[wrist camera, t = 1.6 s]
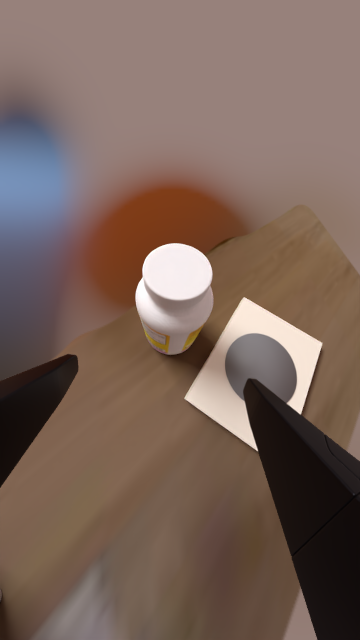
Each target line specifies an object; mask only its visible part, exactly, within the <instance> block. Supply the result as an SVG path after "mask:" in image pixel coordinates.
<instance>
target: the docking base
mask: <svg viewBox="0 0 360 640" xmlns="http://www.w3.org/2000/svg"><path fill="white" fill-rule="evenodd" d="M321 346H322V343H321V342H319V341H318V340H316V339H314V338H313V337H311V336H309V335H307V334H306V333H304V332H302V331H301V330H299V329H297V328H296V327H294V326H292V325H290V324H289V323H287V322H285V321H284V320H282V319H280V318H279V317H277V316H275V315H273V314H272V313H270V312H268V311H267V310H265V309H263V308H262V307H260V306H258V305H257V304H255V303H253V302H251V301H250V300H248V299H246V298H245V297H244V298H243V299H242V301H241V302H240V304H239V305H238V307H237V309H236V310H235V312H234V314H233V316H232V317H231V319H230V321H229V322H228V324H227V326H226V328H225V329H224V331H223V333H222V334H221V336H220V338H219V340H218V341H217V343H216V345H215V346H214V348H213V350H212V352H211V353H210V355H209V357H208V358H207V360H206V362H205V364H204V365H203V367H202V369H201V370H200V372H199V374H198V376H197V377H196V379H195V381H194V382H193V384H192V386H191V388H190V389H189V391H188V393H187V394H186V396H185V398H184V399H185V400H187V401H188V402H189V403H191V404H192V405H194V406H195V407H196V408H198V409H199V410H201V411H202V412H203V413H205V414H206V415H208V416H209V417H210V418H212V419H213V420H215V421H216V422H217V423H219V424H220V425H222V426H223V427H224V428H226V429H227V430H229V431H230V432H231V433H233V434H234V435H235V436H237V437H238V438H240V439H241V440H242V441H244V442H245V443H247V444H248V445H249V446H251V447H252V448H254V449H255V450H256V451H258V449H257V446H256V443H255V440H254V437H253V433H252V430H251V427H250V424H249V420H248V415H247V410H246V405H245V401H244V396H243V389H244V386H245V384H246V381H247V379H248V378H254V379H257V380H258V381H259V382H261V383H262V384H263V385H264V386H266V387H267V388H268V389H269V390H271V391H272V392H273V393H274V394H276V395H277V396H278V397H279V398H281V399H282V400H283V401H284V402H286V403H287V404H288V405H289V406H291V407H292V408H293V409H294V410H296V411H297V412H298V413H299V414H301V412H302V409H303V406H304V403H305V399H306V396H307V393H308V389H309V386H310V383H311V379H312V376H313V373H314V370H315V366H316V363H317V360H318V356H319V353H320V350H321Z"/></svg>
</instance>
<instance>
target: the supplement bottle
mask: <svg viewBox="0 0 360 640" xmlns="http://www.w3.org/2000/svg"><path fill="white" fill-rule="evenodd" d="M211 281H212V268H211V265H210V263H209V261H208V260H207V258H206V257H205V256H204V255H203V254H202V253H201V252H200V251H198V250H197V249H195V248H193V247H190V246H188V245H184V244H167V245H163V246H161V247H158V248H157V249H155V250H153V251H152V252H151V253H150V254H149V255H148V256H147V258H146V260H145V262H144V265H143V278H142V279H141V281H140V282H139V284H138V287H137V290H136V306H137V310H138V313H139V316H140V319H141V322H142V325H143V328H144V331H145V334H146V337H147V339H148V341H149V343H150V344H151V346H152V347H153V348H155V349H156V350H157V351H159V352H161V353H164V354H169V355H174V354H179V353H182V352H184V351H185V350H187V349H188V348H189V347H190V346H191V345H192V343H193V342H194V340H195V339H196V337H197V335H198V334H199V332H200V330H201V329H202V327H203V325H204V324H205V322H206V320H207V319H208V317H209V315H210V313H211V311H212V307H213V293H212V289H211V287H210V284H211Z"/></svg>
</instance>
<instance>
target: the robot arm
mask: <svg viewBox="0 0 360 640" xmlns="http://www.w3.org/2000/svg"><path fill="white" fill-rule="evenodd" d="M77 372H78V358H77V356H76V355H72V354H67V355H64V356H62V357H59V358H57V359H54V360H52V361H49V362H47V363H44V364H42V365H39V366H37V367H34V368H32V369H29V370H27V371H24V372H22V373H19V374H17V375H14V376H12V377H9V378H6V379H4V380H1V381H0V487H1V486H2V484H3V483H4V482H5V480H6V479H7V477H8V476H9V475H10V473H11V472H12V470H13V469H14V467H15V466H16V465H17V463H18V462H19V460H20V459H21V457H22V456H23V455H24V453H25V452H26V450H27V449H28V448H29V446H30V445H31V443H32V442H33V440H34V439H35V438H36V436H37V435H38V433H39V432H40V430H41V429H42V428H43V426H44V425H45V423H46V422H47V421H48V419H49V418H50V416H51V415H52V413H53V412H54V411H55V409H56V408H57V406H58V405H59V403H60V402H61V400H62V399H63V397H64V395H65V394H66V392H67V390H68V388H69V387H70V385H71V383H72V381H73V380H74V378H75V376H76V374H77ZM243 396H244V401H245V405H246V410H247V415H248V420H249V424H250V427H251V430H252V433H253V437H254V440H255V443H256V446H257V449H258V452H259V456H260V459H261V462H262V465H263V468H264V471H265V475H266V478H267V481H268V484H269V487H270V490H271V494H272V497H273V500H274V503H275V506H276V509H277V513H278V516H279V519H280V522H281V525H282V528H283V532H284V535H285V538H286V541H287V544H288V547H289V551H290V554H291V556H292V561H293V564H294V567H295V570H296V573H297V576H298V580H299V583H300V586H301V589H302V592H303V595H304V598H305V602H306V605H307V608H308V611H309V614H310V617H311V621H312V624H313V627H314V630H315V633H316V636H317V640H360V461H359V460H357V459H356V458H355V457H353V456H352V455H351V454H349V453H348V452H347V451H346V450H344V449H343V448H342V447H340V446H339V445H338V444H337V443H335V442H334V441H333V440H332V439H330V438H329V437H328V436H327V435H324V433H323V432H322V431H320V430H319V429H318V428H317V427H315V426H314V425H313V424H312V423H310V422H309V421H308V420H307V419H305V418H304V417H303V416H302V415H301V414H299V413H298V412H297V411H296V410H294V409H293V408H292V407H291V406H289V405H288V404H287V403H286V402H284V401H283V400H282V399H281V398H279V397H278V396H277V395H276V394H274V393H273V392H272V391H271V390H269V389H268V388H267V387H266V386H264V385H263V384H262V383H261V382H259V381H258V380H257V379H254V378H248V379H247V381H246V384H245V386H244V389H243Z"/></svg>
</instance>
